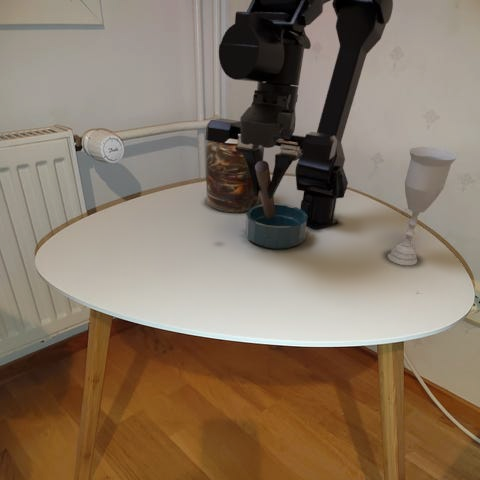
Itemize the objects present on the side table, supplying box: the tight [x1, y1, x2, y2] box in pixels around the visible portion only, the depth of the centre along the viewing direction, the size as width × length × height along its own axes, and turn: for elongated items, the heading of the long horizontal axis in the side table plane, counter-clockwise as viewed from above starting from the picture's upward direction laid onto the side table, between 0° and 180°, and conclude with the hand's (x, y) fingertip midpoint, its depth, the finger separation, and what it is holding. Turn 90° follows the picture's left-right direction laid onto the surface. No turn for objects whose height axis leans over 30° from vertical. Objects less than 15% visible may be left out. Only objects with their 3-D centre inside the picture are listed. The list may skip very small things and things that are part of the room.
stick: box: [255, 160, 276, 219], centre depth 67 cm, size 2×2×13 cm
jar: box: [205, 139, 261, 213], centre depth 89 cm, size 12×12×15 cm
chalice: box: [387, 146, 458, 266], centre depth 69 cm, size 7×7×18 cm
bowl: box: [245, 203, 308, 250], centre depth 79 cm, size 11×11×4 cm
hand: (263, 197), depth 66 cm, fingers closed on stick, 2 cm apart
